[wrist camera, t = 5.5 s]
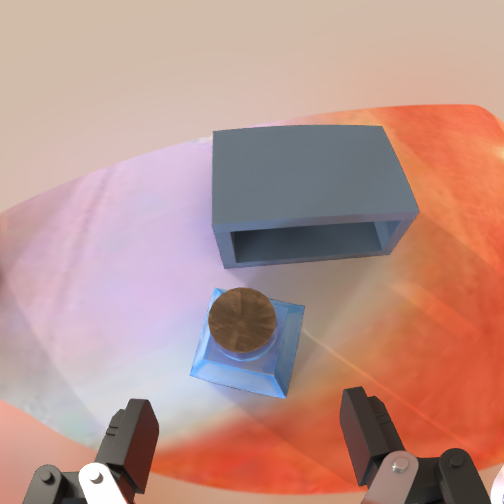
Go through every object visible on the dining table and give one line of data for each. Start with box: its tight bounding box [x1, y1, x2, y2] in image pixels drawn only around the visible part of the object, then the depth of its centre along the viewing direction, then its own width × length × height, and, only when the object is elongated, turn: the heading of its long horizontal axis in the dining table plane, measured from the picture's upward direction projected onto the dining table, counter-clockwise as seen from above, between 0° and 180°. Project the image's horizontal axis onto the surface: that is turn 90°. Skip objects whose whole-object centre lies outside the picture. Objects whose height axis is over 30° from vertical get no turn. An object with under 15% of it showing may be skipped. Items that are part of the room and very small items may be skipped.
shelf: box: [212, 125, 420, 268], centre depth 27 cm, size 16×10×8 cm, turn 94°
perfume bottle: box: [190, 287, 305, 398], centre depth 20 cm, size 6×6×12 cm
